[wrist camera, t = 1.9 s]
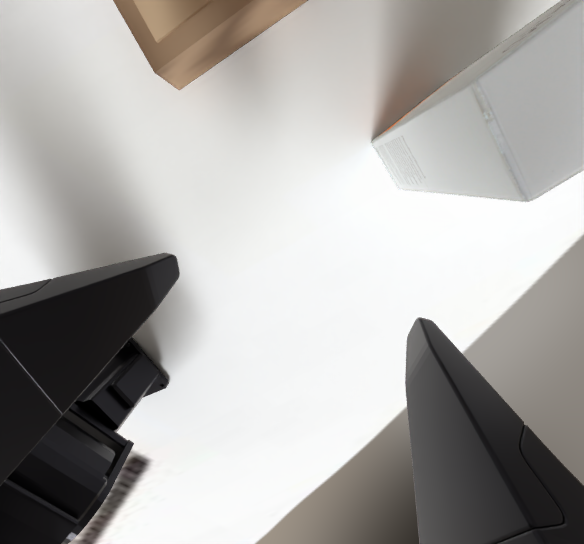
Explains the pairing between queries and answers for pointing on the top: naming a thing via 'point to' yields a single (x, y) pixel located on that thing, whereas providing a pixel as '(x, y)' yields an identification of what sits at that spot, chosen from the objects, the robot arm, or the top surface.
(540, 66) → the skincare box
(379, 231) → the top surface
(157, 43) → the walnut tray
